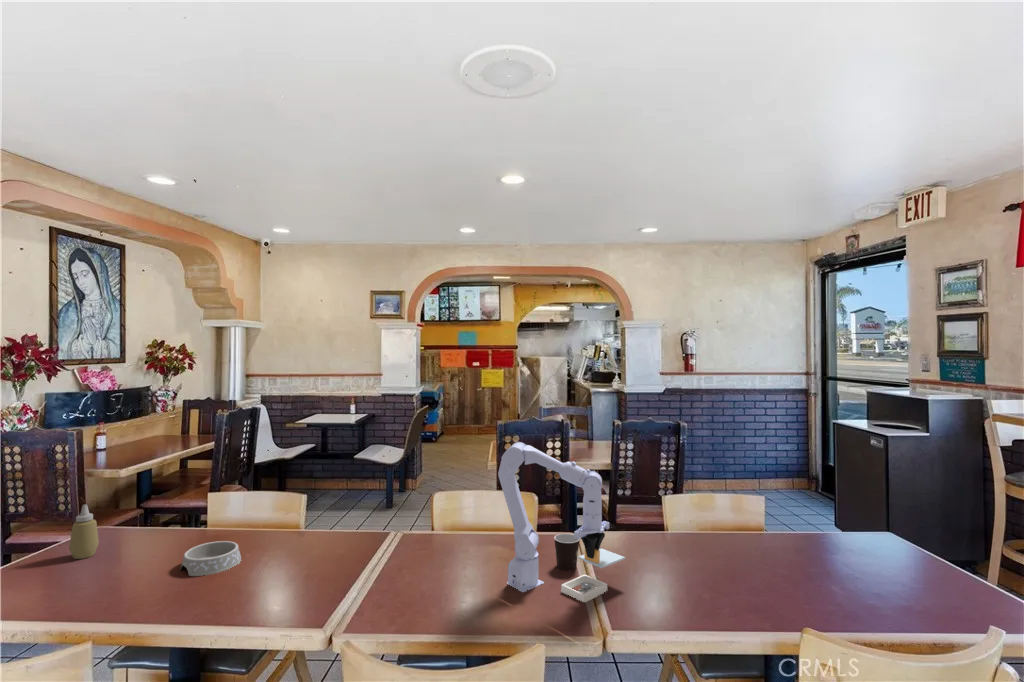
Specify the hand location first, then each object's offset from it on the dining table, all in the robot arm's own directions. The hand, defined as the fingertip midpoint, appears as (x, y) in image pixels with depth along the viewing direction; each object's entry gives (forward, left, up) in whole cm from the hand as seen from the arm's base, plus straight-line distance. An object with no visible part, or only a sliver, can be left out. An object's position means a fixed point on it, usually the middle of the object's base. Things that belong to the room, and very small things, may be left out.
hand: (592, 556), depth 160 cm
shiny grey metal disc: (-5, 0, -10) cm, 11 cm away
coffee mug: (+8, +17, -11) cm, 21 cm away
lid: (+5, 0, -3) cm, 5 cm away
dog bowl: (-83, +98, -11) cm, 129 cm away
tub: (-3, +1, -11) cm, 11 cm away
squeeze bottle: (-115, +135, -11) cm, 177 cm away
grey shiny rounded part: (0, +2, -10) cm, 10 cm away
